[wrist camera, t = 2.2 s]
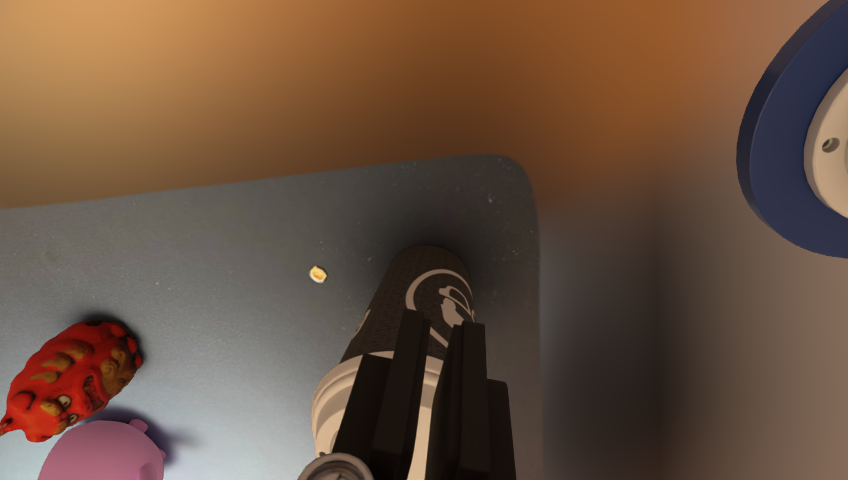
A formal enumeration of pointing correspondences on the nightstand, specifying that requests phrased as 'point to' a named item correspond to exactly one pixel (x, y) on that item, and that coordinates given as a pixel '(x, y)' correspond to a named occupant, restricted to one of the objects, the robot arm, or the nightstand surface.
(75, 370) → the red clay folk toy
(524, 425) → the nightstand surface
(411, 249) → the coffee cup
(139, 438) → the teapot
